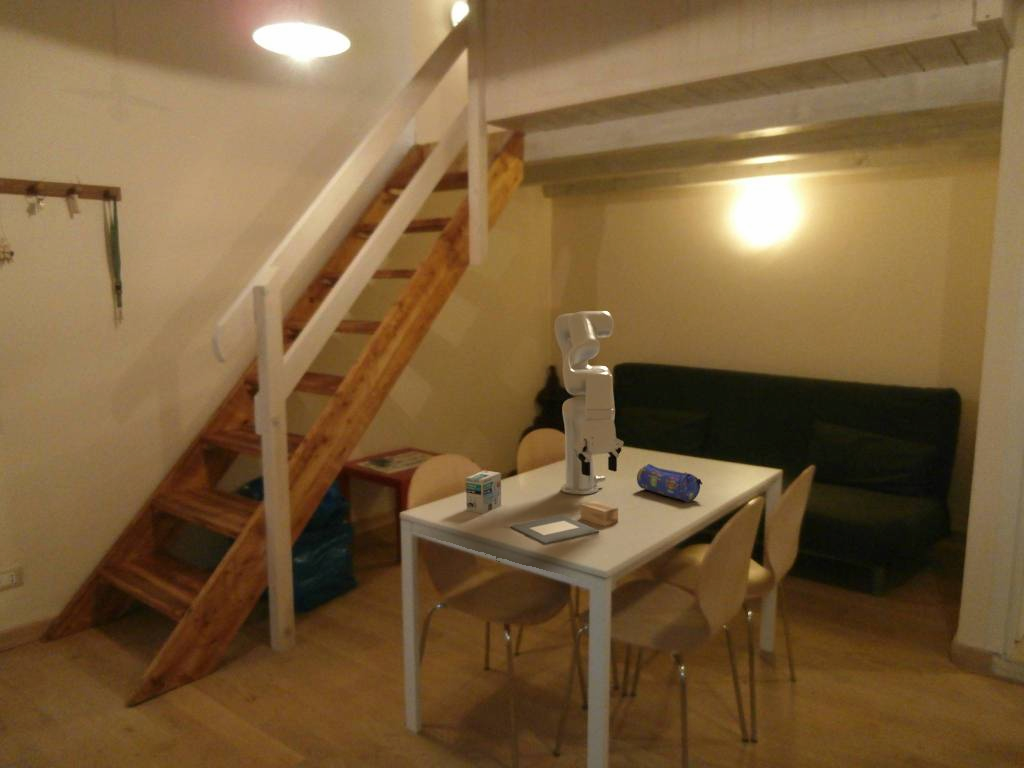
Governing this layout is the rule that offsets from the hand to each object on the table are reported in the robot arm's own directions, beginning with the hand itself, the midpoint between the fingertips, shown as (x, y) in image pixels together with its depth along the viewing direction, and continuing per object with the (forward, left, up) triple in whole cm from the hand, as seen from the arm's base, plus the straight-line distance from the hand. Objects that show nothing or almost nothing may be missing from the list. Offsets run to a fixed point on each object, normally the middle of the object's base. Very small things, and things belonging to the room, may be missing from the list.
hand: (599, 472), depth 216 cm
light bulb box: (+22, -31, -15) cm, 40 cm away
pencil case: (-35, -9, -15) cm, 39 cm away
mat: (+16, -1, -14) cm, 21 cm away
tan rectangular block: (0, -1, -15) cm, 15 cm away
